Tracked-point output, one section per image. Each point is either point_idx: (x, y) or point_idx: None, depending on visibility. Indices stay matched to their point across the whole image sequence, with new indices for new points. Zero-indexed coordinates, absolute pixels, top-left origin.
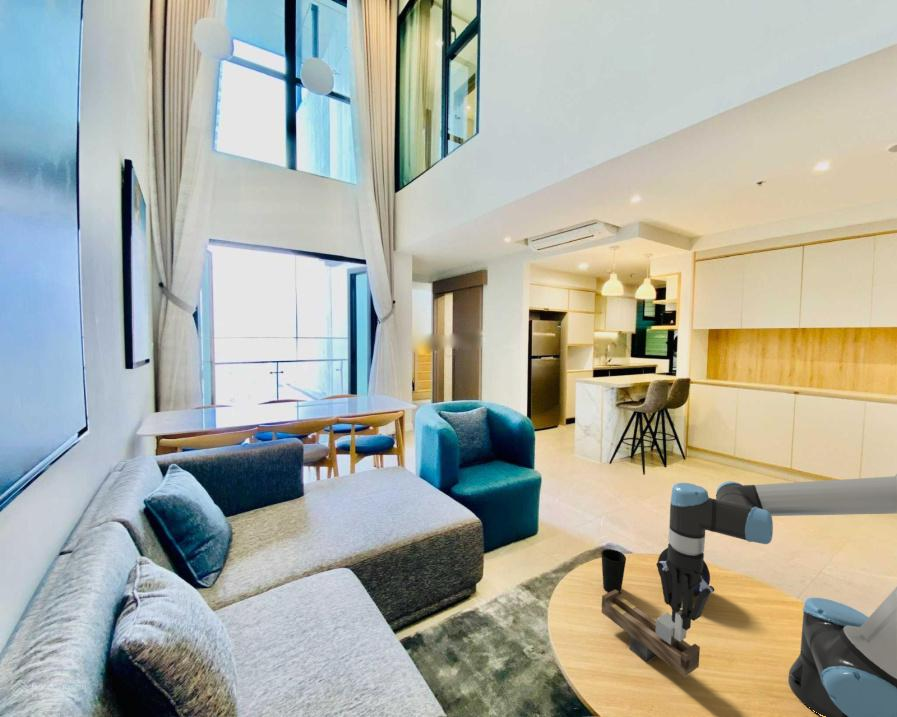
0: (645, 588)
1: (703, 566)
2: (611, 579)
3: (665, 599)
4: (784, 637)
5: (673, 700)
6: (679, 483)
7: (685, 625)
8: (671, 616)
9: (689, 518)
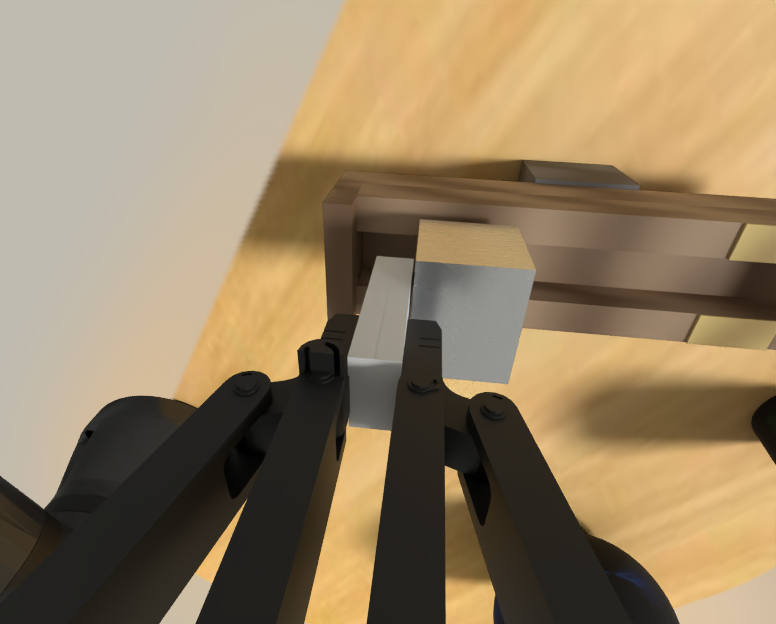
0: (668, 494)
1: None
2: None
3: (510, 423)
4: None
5: (360, 70)
6: None
7: (337, 332)
8: (475, 371)
9: None
